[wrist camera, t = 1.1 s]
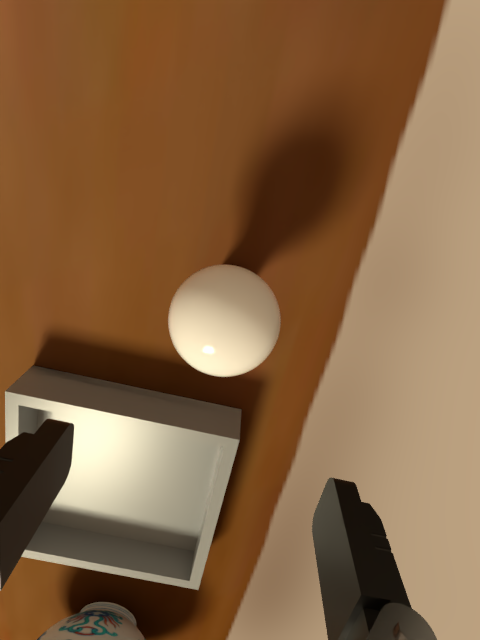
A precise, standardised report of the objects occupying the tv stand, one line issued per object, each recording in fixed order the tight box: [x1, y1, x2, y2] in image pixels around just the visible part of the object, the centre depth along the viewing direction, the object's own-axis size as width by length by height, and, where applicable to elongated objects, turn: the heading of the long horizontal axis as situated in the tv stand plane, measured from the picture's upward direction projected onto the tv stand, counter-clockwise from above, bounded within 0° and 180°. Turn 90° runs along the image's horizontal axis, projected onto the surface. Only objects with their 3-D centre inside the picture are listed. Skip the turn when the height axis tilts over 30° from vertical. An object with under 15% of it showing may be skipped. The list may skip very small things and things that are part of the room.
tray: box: [5, 365, 242, 590], centre depth 35 cm, size 18×18×4 cm
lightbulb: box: [168, 264, 281, 377], centre depth 25 cm, size 6×6×11 cm
